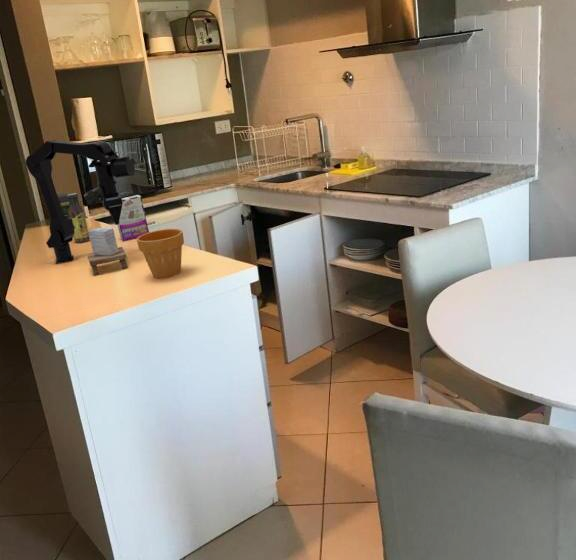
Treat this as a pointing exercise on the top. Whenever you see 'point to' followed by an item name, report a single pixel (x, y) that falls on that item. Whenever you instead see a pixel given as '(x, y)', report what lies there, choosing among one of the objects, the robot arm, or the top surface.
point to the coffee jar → (64, 203)
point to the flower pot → (162, 251)
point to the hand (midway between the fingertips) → (115, 222)
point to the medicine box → (103, 241)
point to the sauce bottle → (77, 219)
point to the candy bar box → (132, 218)
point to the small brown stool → (107, 259)
